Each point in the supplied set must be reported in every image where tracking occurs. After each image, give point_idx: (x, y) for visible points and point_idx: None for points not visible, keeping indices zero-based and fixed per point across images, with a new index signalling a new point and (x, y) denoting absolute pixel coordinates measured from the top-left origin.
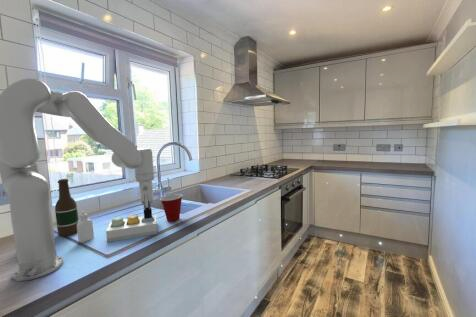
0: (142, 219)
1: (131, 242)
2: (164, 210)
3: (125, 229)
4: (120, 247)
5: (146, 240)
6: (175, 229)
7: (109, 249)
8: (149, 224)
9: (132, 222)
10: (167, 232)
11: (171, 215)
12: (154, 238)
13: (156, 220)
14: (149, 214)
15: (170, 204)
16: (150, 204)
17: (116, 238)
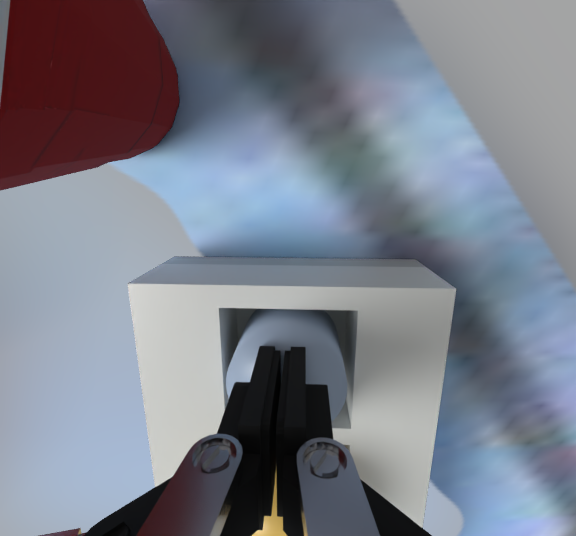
0: None
1: (475, 429)
2: (61, 174)
3: None
4: (516, 483)
5: (502, 340)
6: (396, 86)
7: (506, 531)
8: (440, 359)
9: None
10: (431, 171)
11: (161, 87)
12: (500, 284)
13: (199, 269)
14: (327, 401)
15: (77, 9)
16: (224, 500)
17: None
